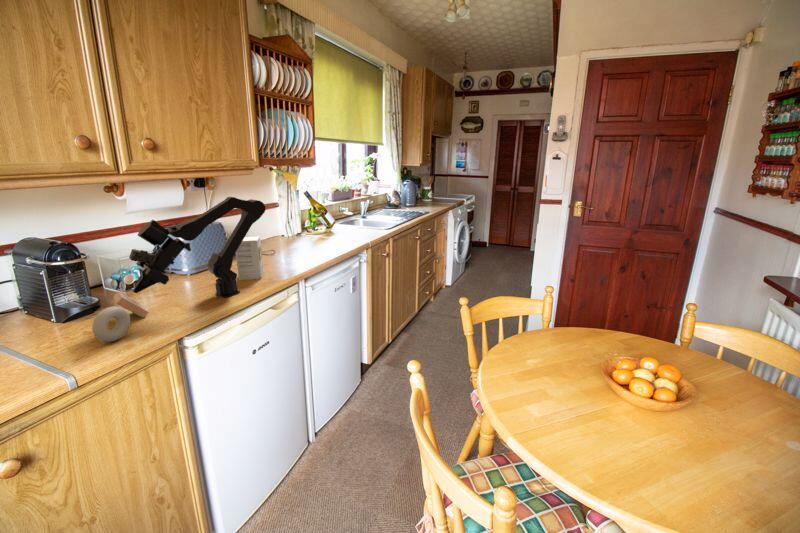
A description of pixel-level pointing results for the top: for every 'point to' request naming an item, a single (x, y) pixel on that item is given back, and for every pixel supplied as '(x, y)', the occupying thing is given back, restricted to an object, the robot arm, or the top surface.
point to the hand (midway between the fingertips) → (134, 292)
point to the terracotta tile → (130, 304)
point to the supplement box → (250, 259)
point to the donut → (104, 318)
